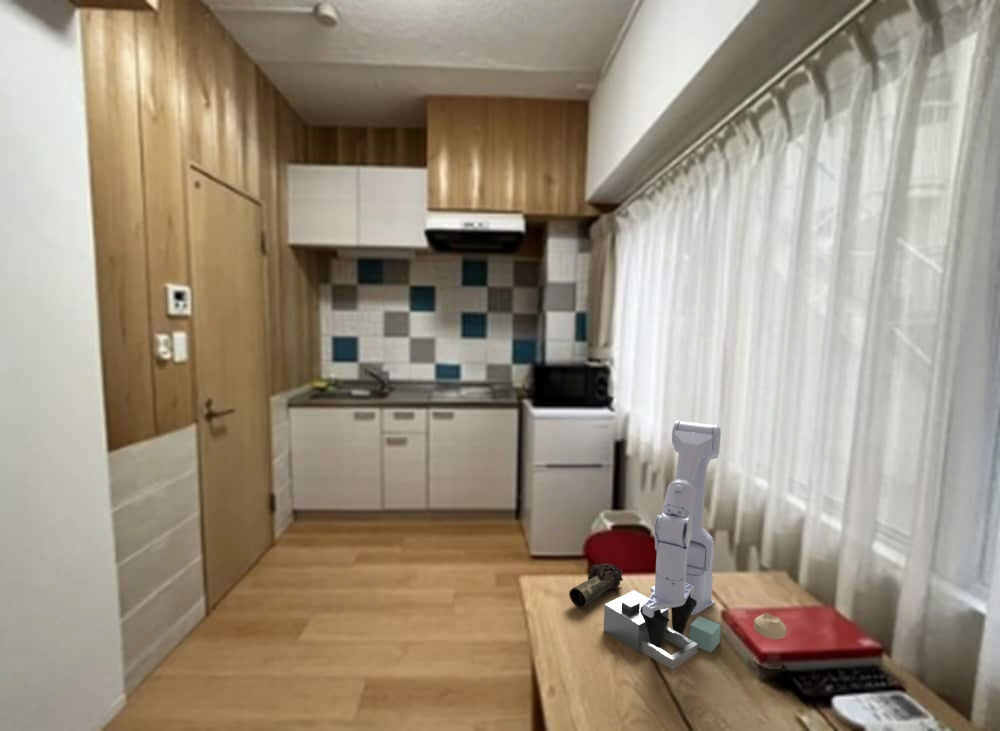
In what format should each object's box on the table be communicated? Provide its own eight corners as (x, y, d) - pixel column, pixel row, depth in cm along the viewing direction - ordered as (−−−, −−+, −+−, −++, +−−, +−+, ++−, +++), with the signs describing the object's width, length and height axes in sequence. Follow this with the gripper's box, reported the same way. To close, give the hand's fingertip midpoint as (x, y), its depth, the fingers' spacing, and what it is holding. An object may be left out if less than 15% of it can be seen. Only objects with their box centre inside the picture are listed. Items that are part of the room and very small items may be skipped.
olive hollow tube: (585, 612, 116) (587, 588, 115) (561, 599, 120) (563, 576, 120) (625, 586, 128) (627, 565, 128) (603, 576, 133) (604, 555, 133)
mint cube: (689, 645, 106) (698, 635, 109) (710, 655, 103) (720, 644, 106) (690, 624, 105) (700, 615, 109) (712, 634, 102) (721, 624, 106)
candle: (746, 655, 103) (750, 608, 102) (774, 656, 103) (777, 609, 102) (759, 674, 97) (763, 624, 96) (788, 675, 97) (792, 626, 96)
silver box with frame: (641, 611, 118) (642, 579, 117) (707, 648, 105) (709, 613, 104) (603, 630, 110) (605, 597, 109) (669, 673, 97) (671, 636, 96)
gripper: (674, 556, 109) (671, 616, 110) (631, 575, 100) (628, 640, 102) (704, 569, 104) (700, 633, 105) (661, 591, 95) (658, 660, 96)
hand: (667, 638), depth 103 cm, fingers open, 7 cm apart
